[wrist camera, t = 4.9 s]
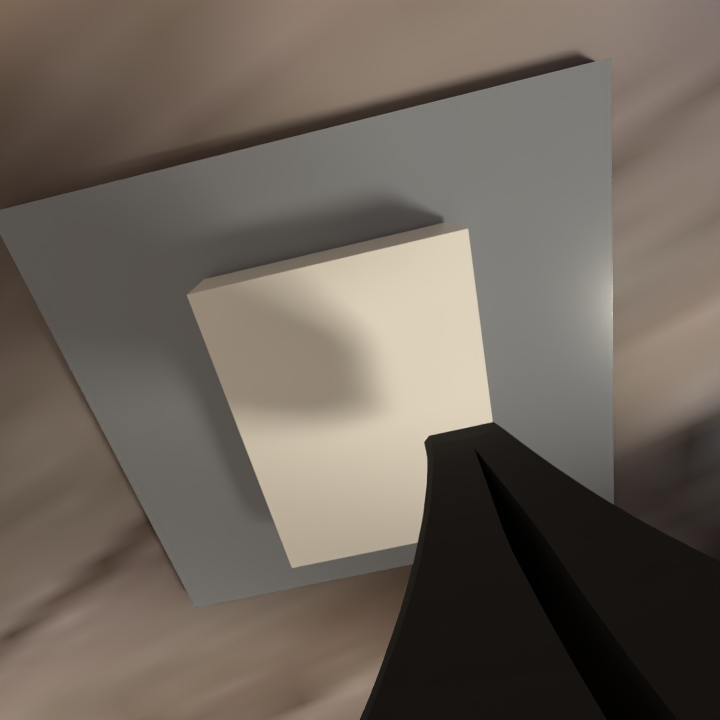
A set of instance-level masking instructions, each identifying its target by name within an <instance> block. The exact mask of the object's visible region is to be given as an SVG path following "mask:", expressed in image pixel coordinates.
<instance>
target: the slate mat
mask: <svg viewBox="0 0 720 720" xmlns="http://www.w3.org/2000/svg"><path fill="white" fill-rule="evenodd" d="M449 221H454V222H456V223H458V224H460V225H462V226H464V227H466V228H468V231H469V239H470V247H471V255H472V263H473V271H474V278H475V286H476V294H477V302H478V310H479V318H480V325H481V333H482V341H483V349H484V357H485V365H486V373H487V380H488V388H489V396H490V404H491V412H492V420H493V422H495V423H496V424H498V425H499V426H501V427H502V428H503V429H505V430H506V431H507V432H509V433H510V434H511V435H513V436H514V437H515V438H517V439H518V440H519V441H521V442H522V443H523V444H525V445H526V446H527V447H529V448H530V449H531V450H533V451H534V452H535V453H537V454H538V455H540V456H541V457H542V458H544V459H545V460H547V461H548V462H549V463H551V464H552V465H554V466H555V467H557V468H558V469H559V470H561V471H562V472H564V473H565V474H567V475H568V476H570V477H571V478H573V479H574V480H576V481H577V482H579V483H580V484H582V485H583V486H585V487H586V488H588V489H589V490H591V491H593V492H594V493H596V494H597V495H599V496H601V497H602V498H604V499H605V500H607V501H608V502H610V503H612V504H614V423H613V268H612V112H611V58H607V59H603V60H599V61H595V62H591V63H587V64H583V65H579V66H575V67H571V68H567V69H563V70H559V71H555V72H551V73H547V74H543V75H539V76H535V77H531V78H527V79H523V80H519V81H515V82H511V83H507V84H503V85H499V86H495V87H491V88H487V89H483V90H479V91H475V92H471V93H467V94H463V95H459V96H454V97H450V98H446V99H442V100H438V101H434V102H430V103H426V104H422V105H418V106H414V107H410V108H406V109H402V110H398V111H394V112H390V113H386V114H382V115H378V116H374V117H370V118H366V119H362V120H358V121H354V122H350V123H346V124H342V125H338V126H334V127H330V128H326V129H322V130H318V131H314V132H310V133H306V134H302V135H298V136H294V137H290V138H286V139H282V140H278V141H274V142H270V143H266V144H262V145H258V146H254V147H250V148H246V149H242V150H238V151H234V152H230V153H226V154H222V155H218V156H214V157H210V158H206V159H202V160H198V161H194V162H190V163H186V164H182V165H178V166H174V167H170V168H166V169H162V170H157V171H153V172H149V173H145V174H141V175H137V176H133V177H129V178H125V179H121V180H117V181H113V182H109V183H105V184H101V185H97V186H93V187H89V188H85V189H81V190H77V191H73V192H69V193H65V194H61V195H57V196H53V197H49V198H45V199H41V200H37V201H33V202H29V203H25V204H21V205H17V206H13V207H9V208H5V209H1V210H0V236H1V238H2V239H3V241H4V243H5V245H6V247H7V249H8V251H9V253H10V255H11V257H12V259H13V260H14V262H15V264H16V266H17V268H18V270H19V272H20V274H21V276H22V278H23V280H24V281H25V283H26V285H27V287H28V289H29V291H30V293H31V295H32V297H33V299H34V301H35V303H36V304H37V306H38V308H39V310H40V312H41V314H42V316H43V318H44V320H45V322H46V324H47V325H48V327H49V329H50V331H51V333H52V335H53V337H54V339H55V341H56V343H57V345H58V346H59V348H60V350H61V352H62V354H63V356H64V358H65V360H66V362H67V364H68V366H69V367H70V369H71V371H72V373H73V375H74V377H75V379H76V381H77V383H78V385H79V387H80V389H81V390H82V392H83V394H84V396H85V398H86V400H87V402H88V404H89V406H90V408H91V410H92V411H93V413H94V415H95V417H96V419H97V421H98V423H99V425H100V427H101V429H102V431H103V432H104V434H105V436H106V438H107V440H108V442H109V444H110V446H111V448H112V450H113V452H114V453H115V455H116V457H117V459H118V461H119V463H120V465H121V467H122V469H123V471H124V473H125V475H126V476H127V478H128V480H129V482H130V484H131V486H132V488H133V490H134V492H135V494H136V496H137V497H138V499H139V501H140V503H141V505H142V507H143V509H144V511H145V513H146V515H147V517H148V518H149V520H150V522H151V524H152V526H153V528H154V530H155V532H156V534H157V536H158V538H159V540H160V541H161V543H162V545H163V547H164V549H165V551H166V553H167V555H168V557H169V559H170V561H171V562H172V564H173V566H174V568H175V570H176V572H177V574H178V576H179V578H180V580H181V582H182V583H183V585H184V587H185V589H186V591H187V593H188V595H189V597H190V599H191V601H192V603H193V604H194V606H195V608H198V607H203V606H208V605H213V604H218V603H223V602H228V601H233V600H238V599H243V598H248V597H253V596H258V595H263V594H268V593H273V592H278V591H283V590H288V589H293V588H298V587H303V586H308V585H313V584H318V583H323V582H328V581H333V580H338V579H343V578H348V577H352V576H357V575H362V574H367V573H372V572H377V571H382V570H387V569H392V568H397V567H402V566H407V565H412V564H413V562H414V558H415V553H416V548H417V543H413V544H408V545H403V546H398V547H394V548H389V549H384V550H379V551H374V552H369V553H364V554H359V555H354V556H349V557H344V558H340V559H335V560H330V561H325V562H320V563H315V564H310V565H305V566H300V567H295V568H292V567H291V564H290V562H289V559H288V557H287V554H286V552H285V549H284V546H283V544H282V541H281V539H280V536H279V533H278V531H277V528H276V526H275V523H274V520H273V518H272V515H271V513H270V510H269V507H268V505H267V502H266V500H265V497H264V494H263V492H262V489H261V487H260V484H259V481H258V479H257V476H256V474H255V471H254V468H253V466H252V463H251V461H250V458H249V455H248V453H247V450H246V448H245V445H244V443H243V440H242V437H241V435H240V432H239V430H238V427H237V424H236V422H235V419H234V417H233V414H232V411H231V409H230V406H229V404H228V401H227V398H226V396H225V393H224V391H223V388H222V385H221V383H220V380H219V378H218V375H217V372H216V370H215V367H214V365H213V362H212V359H211V357H210V354H209V352H208V349H207V346H206V344H205V341H204V339H203V336H202V333H201V331H200V328H199V326H198V323H197V321H196V318H195V315H194V313H193V310H192V308H191V305H190V302H189V300H188V297H187V294H188V293H189V292H190V291H191V290H193V289H194V288H195V287H196V286H197V285H198V284H199V283H201V282H202V281H203V280H204V279H207V278H212V277H216V276H220V275H224V274H229V273H233V272H237V271H241V270H245V269H250V268H254V267H258V266H262V265H267V264H271V263H275V262H279V261H284V260H288V259H292V258H296V257H300V256H305V255H309V254H313V253H317V252H322V251H326V250H330V249H334V248H339V247H343V246H347V245H351V244H355V243H360V242H364V241H368V240H372V239H377V238H381V237H385V236H389V235H394V234H398V233H402V232H406V231H411V230H415V229H419V228H423V227H427V226H432V225H436V224H440V223H444V222H449Z"/></svg>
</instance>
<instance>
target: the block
mask: <svg viewBox="0 0 720 720" xmlns="http://www.w3.org/2000/svg"><path fill="white" fill-rule="evenodd" d="M187 297H188V300H189V302H190V305H191V308H192V310H193V313H194V315H195V318H196V321H197V323H198V326H199V328H200V331H201V333H202V336H203V339H204V341H205V344H206V346H207V349H208V352H209V354H210V357H211V359H212V362H213V365H214V367H215V370H216V372H217V375H218V378H219V380H220V383H221V385H222V388H223V391H224V393H225V396H226V398H227V401H228V404H229V406H230V409H231V411H232V414H233V417H234V419H235V422H236V424H237V427H238V430H239V432H240V435H241V437H242V440H243V443H244V445H245V448H246V450H247V453H248V455H249V458H250V461H251V463H252V466H253V468H254V471H255V474H256V476H257V479H258V481H259V484H260V487H261V489H262V492H263V494H264V497H265V500H266V502H267V505H268V507H269V510H270V513H271V515H272V518H273V520H274V523H275V526H276V528H277V531H278V533H279V536H280V539H281V541H282V544H283V546H284V549H285V552H286V554H287V557H288V559H289V562H290V564H291V567H292V568H295V567H300V566H305V565H310V564H315V563H320V562H325V561H330V560H335V559H340V558H344V557H349V556H354V555H359V554H364V553H369V552H374V551H379V550H384V549H389V548H394V547H398V546H403V545H408V544H413V543H418V538H419V533H420V528H421V523H422V518H423V511H424V502H425V494H426V485H427V455H426V450H425V445H424V442H425V440H426V439H427V438H428V436H430V435H435V434H439V433H444V432H449V431H453V430H458V429H463V428H467V427H472V426H477V425H481V424H486V423H491V422H493V420H492V412H491V404H490V396H489V388H488V380H487V373H486V365H485V357H484V349H483V341H482V333H481V325H480V318H479V310H478V302H477V294H476V286H475V278H474V271H473V263H472V255H471V247H470V239H469V231H468V228H466V227H464V226H462V225H460V224H458V223H456V222H454V221H449V222H444V223H440V224H436V225H432V226H427V227H423V228H419V229H415V230H411V231H406V232H402V233H398V234H394V235H389V236H385V237H381V238H377V239H372V240H368V241H364V242H360V243H355V244H351V245H347V246H343V247H339V248H334V249H330V250H326V251H322V252H317V253H313V254H309V255H305V256H300V257H296V258H292V259H288V260H284V261H279V262H275V263H271V264H267V265H262V266H258V267H254V268H250V269H245V270H241V271H237V272H233V273H229V274H224V275H220V276H216V277H212V278H207V279H204V280H203V281H202V282H201V283H199V284H198V285H197V286H196V287H195V288H194V289H193V290H191V291H190V292H189V293H188V294H187Z"/></svg>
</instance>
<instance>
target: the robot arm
mask: <svg viewBox="0 0 720 720" xmlns="http://www.w3.org/2000/svg"><path fill="white" fill-rule="evenodd" d="M424 445H425V450H426V455H427V485H426V494H425V502H424V511H423V518H422V523H421V528H420V533H419V538H418V543H417V548H416V553H415V558H414V562H413V566H412V570H411V574H410V578H409V582H408V586H407V589H406V593H405V596H404V600H403V603H402V606H401V610H400V613H399V616H398V619H397V622H396V625H395V628H394V631H393V634H392V637H391V640H390V643H389V646H388V648H387V651H386V654H385V657H384V660H383V663H382V666H381V668H380V671H379V674H378V676H377V679H376V682H375V684H374V687H373V689H372V692H371V694H370V697H369V699H368V702H367V704H366V706H365V709H364V711H363V713H362V716H361V718H360V720H720V562H719V561H717V560H715V559H713V558H711V557H709V556H707V555H705V554H704V553H702V552H700V551H698V550H696V549H694V548H692V547H690V546H688V545H686V544H684V543H682V542H680V541H678V540H676V539H674V538H672V537H670V536H668V535H666V534H664V533H662V532H661V531H659V530H657V529H655V528H653V527H651V526H650V525H648V524H646V523H644V522H642V521H641V520H639V519H637V518H635V517H634V516H632V515H630V514H629V513H627V512H625V511H624V510H622V509H620V508H619V507H617V506H615V505H614V504H612V503H610V502H608V501H607V500H605V499H604V498H602V497H601V496H599V495H597V494H596V493H594V492H593V491H591V490H589V489H588V488H586V487H585V486H583V485H582V484H580V483H579V482H577V481H576V480H574V479H573V478H571V477H570V476H568V475H567V474H565V473H564V472H562V471H561V470H559V469H558V468H557V467H555V466H554V465H552V464H551V463H549V462H548V461H547V460H545V459H544V458H542V457H541V456H540V455H538V454H537V453H535V452H534V451H533V450H531V449H530V448H529V447H527V446H526V445H525V444H523V443H522V442H521V441H519V440H518V439H517V438H515V437H514V436H513V435H511V434H510V433H509V432H507V431H506V430H505V429H503V428H502V427H501V426H499V425H498V424H496V423H495V422H491V423H486V424H481V425H477V426H472V427H467V428H463V429H458V430H453V431H449V432H444V433H439V434H435V435H430V436H428V438H427V439H426V440H425V442H424Z"/></svg>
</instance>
